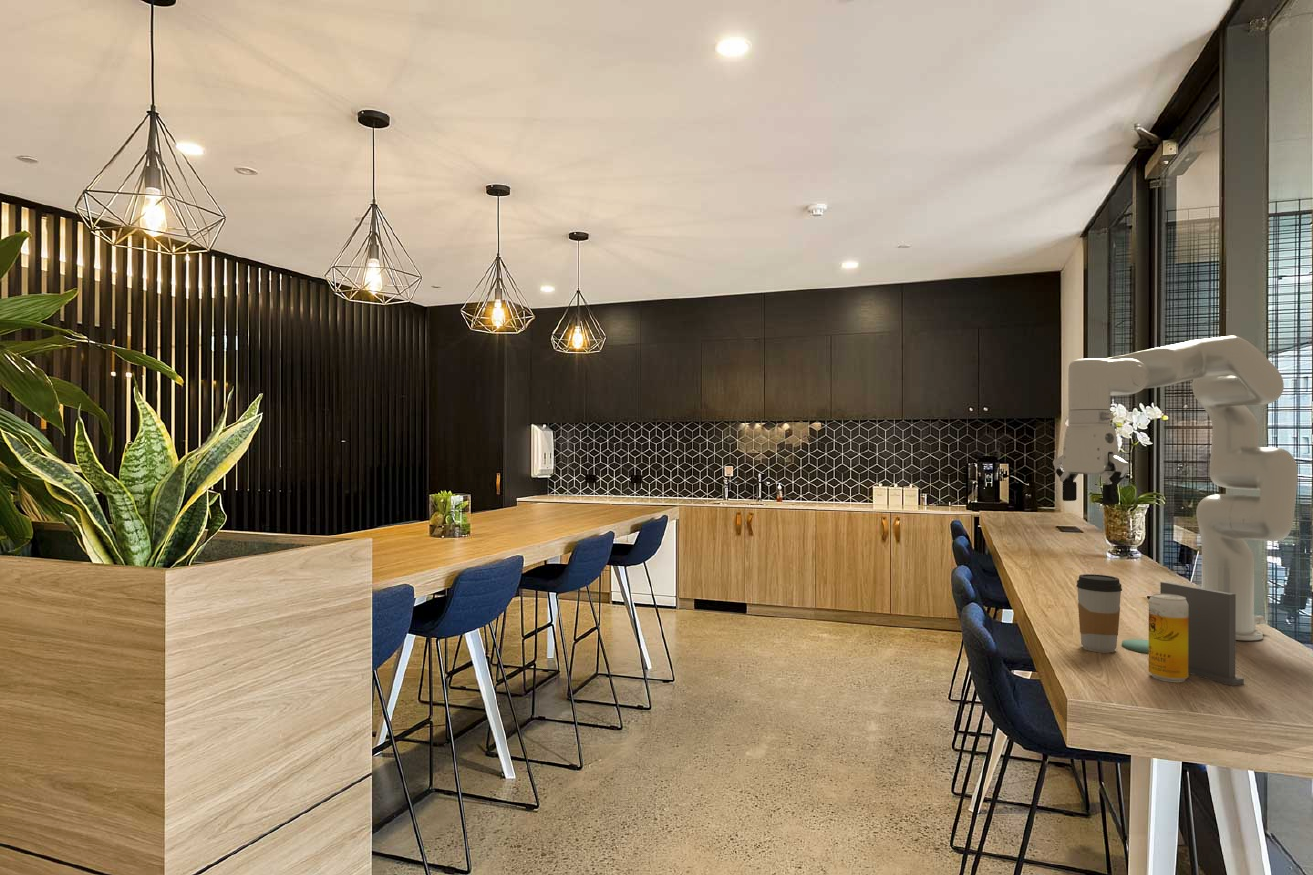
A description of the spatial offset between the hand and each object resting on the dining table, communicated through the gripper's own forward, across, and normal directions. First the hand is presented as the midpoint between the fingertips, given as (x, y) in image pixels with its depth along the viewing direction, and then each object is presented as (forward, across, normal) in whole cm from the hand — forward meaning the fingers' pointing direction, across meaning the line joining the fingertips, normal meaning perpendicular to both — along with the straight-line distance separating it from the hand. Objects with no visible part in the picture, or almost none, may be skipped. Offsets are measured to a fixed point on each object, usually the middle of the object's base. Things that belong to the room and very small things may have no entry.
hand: (1089, 502), depth 157 cm
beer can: (+31, -17, 0) cm, 36 cm away
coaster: (+31, -1, -15) cm, 35 cm away
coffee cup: (+31, +2, -5) cm, 31 cm away
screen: (+31, -17, -8) cm, 36 cm away
